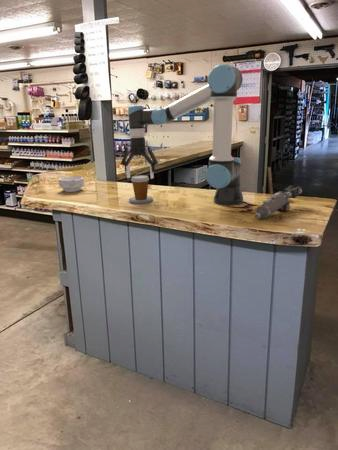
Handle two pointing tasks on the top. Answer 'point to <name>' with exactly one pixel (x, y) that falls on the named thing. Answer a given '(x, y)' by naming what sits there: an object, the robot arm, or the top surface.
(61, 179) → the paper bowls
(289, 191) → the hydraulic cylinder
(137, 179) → the disposable coffee cup
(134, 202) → the slate dish
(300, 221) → the top surface
